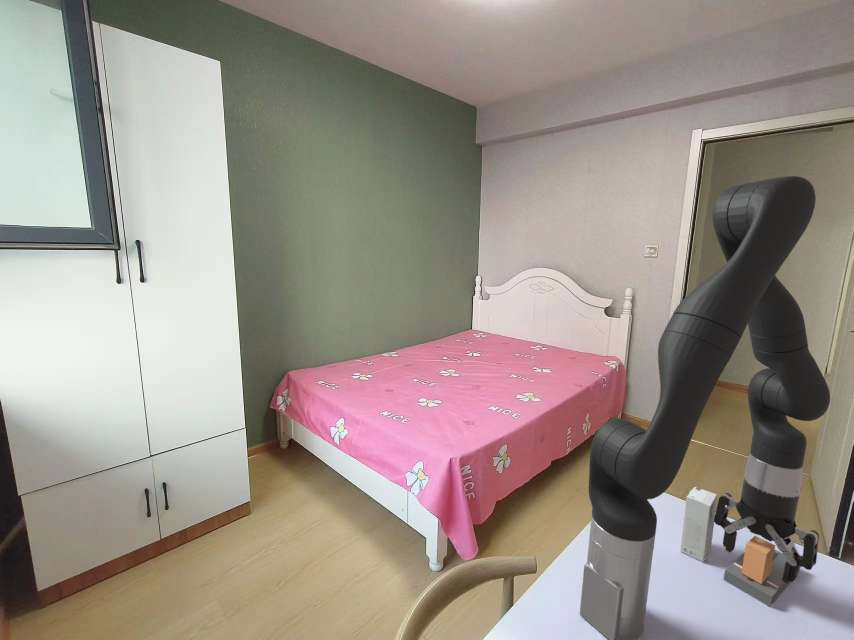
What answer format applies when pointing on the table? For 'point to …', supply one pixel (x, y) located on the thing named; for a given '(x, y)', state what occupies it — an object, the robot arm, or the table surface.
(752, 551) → the fader tab
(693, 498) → the skincare box
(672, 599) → the table surface
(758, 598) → the fader console
